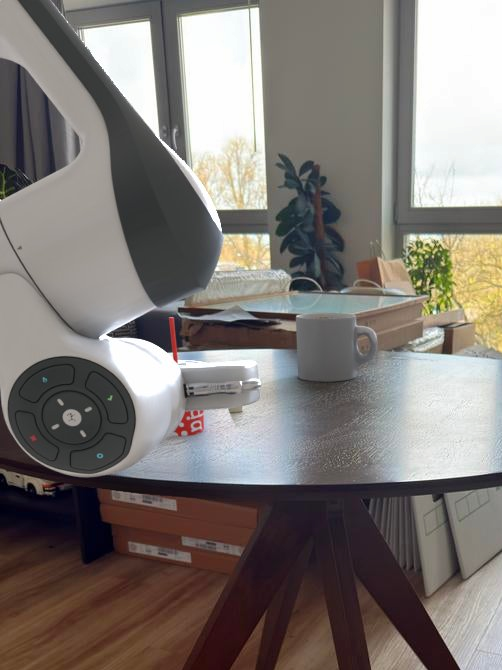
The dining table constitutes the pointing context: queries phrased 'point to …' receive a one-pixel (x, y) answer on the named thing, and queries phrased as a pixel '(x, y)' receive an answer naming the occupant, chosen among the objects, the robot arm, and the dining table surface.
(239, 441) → the dining table surface
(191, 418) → the beverage cup
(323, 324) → the coffee mug
